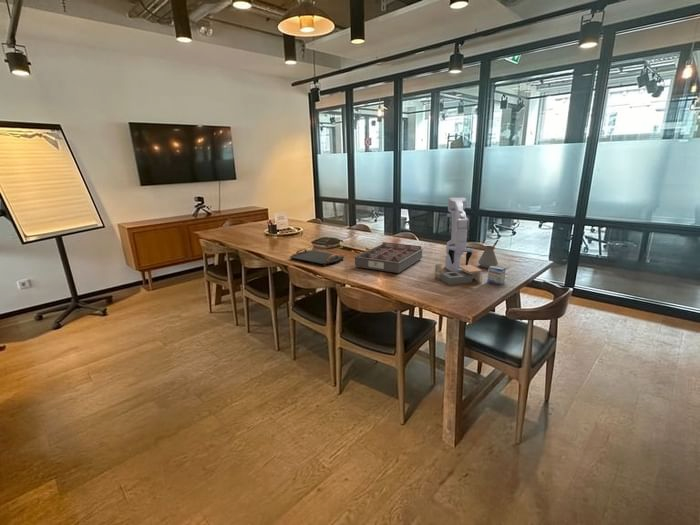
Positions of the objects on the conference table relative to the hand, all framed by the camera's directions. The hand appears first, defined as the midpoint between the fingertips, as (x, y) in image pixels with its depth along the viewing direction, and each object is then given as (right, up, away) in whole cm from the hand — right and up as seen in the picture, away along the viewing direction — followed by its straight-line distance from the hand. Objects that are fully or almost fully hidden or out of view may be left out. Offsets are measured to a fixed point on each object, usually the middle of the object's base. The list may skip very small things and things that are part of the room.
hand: (459, 264), depth 196 cm
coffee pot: (+29, -1, +30) cm, 42 cm away
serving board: (-85, +2, +54) cm, 101 cm away
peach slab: (+7, -9, +4) cm, 12 cm away
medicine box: (+19, -10, -2) cm, 22 cm away
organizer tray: (-35, 0, +39) cm, 52 cm away
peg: (-10, -8, +8) cm, 15 cm away
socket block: (-1, -9, +2) cm, 10 cm away
